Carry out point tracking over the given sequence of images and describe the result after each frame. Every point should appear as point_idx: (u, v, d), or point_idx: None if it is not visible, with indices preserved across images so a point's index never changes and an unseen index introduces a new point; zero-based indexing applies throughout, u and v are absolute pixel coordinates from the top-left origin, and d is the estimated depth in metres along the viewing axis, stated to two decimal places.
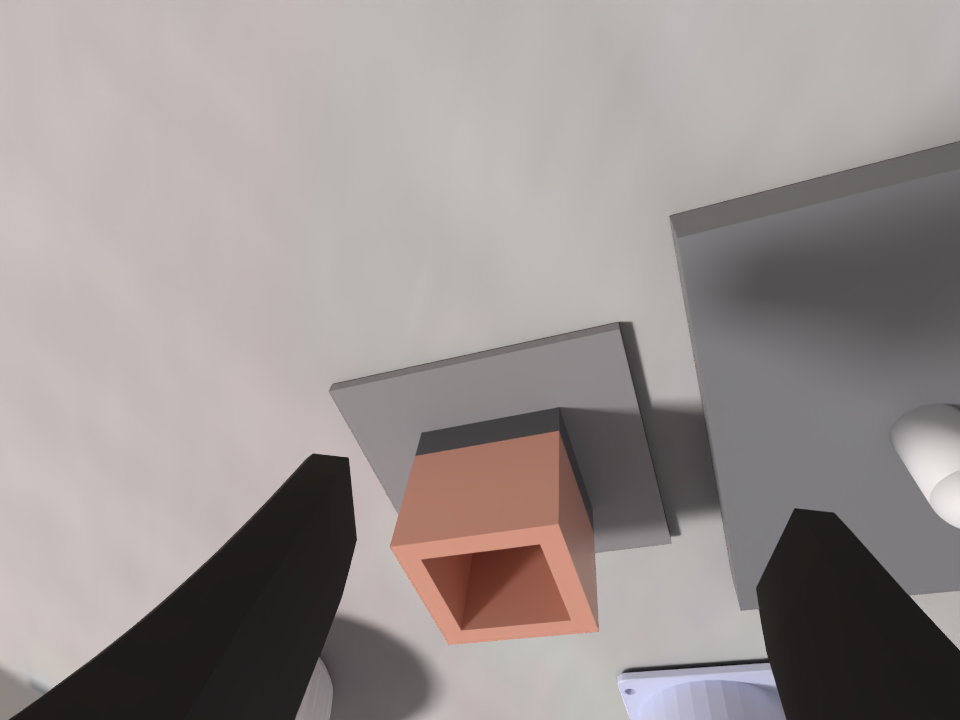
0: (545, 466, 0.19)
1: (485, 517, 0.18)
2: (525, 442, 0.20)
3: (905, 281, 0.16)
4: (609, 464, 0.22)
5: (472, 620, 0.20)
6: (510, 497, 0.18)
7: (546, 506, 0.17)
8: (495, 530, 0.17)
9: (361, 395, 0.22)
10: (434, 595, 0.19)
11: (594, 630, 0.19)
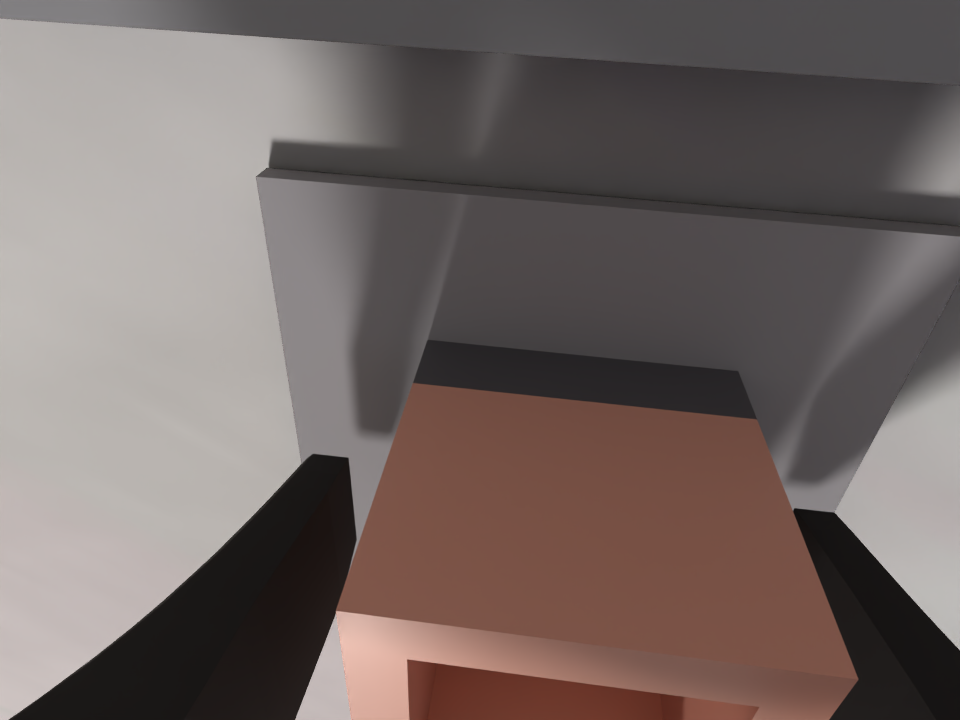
0: None
1: None
2: None
3: None
4: (616, 299, 0.09)
5: None
6: None
7: None
8: (350, 695, 0.07)
9: None
10: None
11: (846, 686, 0.06)
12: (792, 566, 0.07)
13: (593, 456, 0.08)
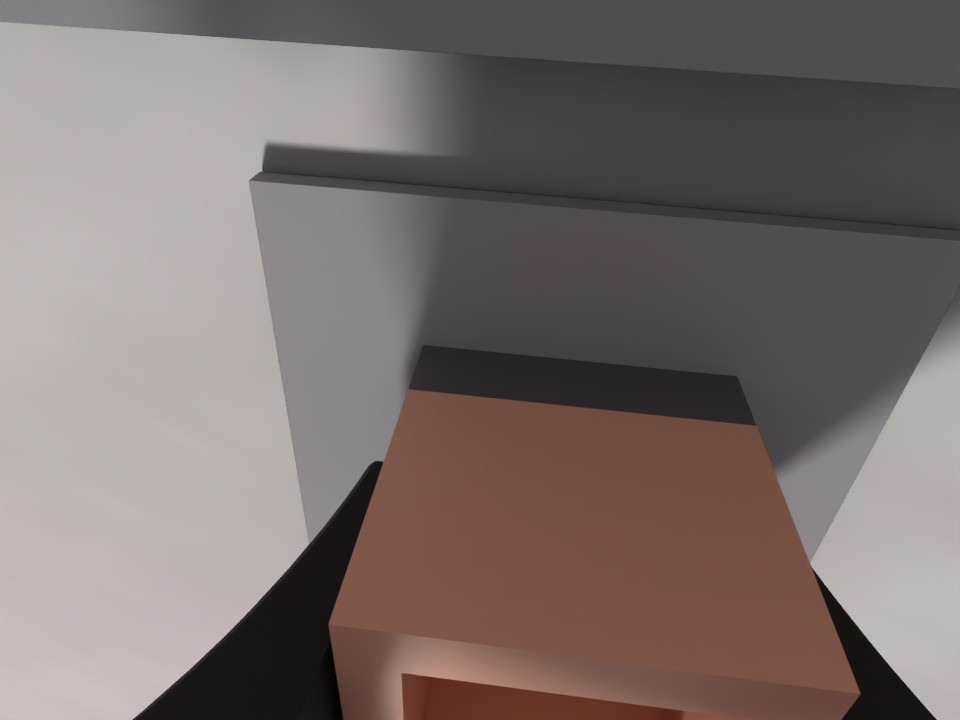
0: None
1: None
2: None
3: None
4: (614, 305, 0.09)
5: None
6: None
7: None
8: (345, 708, 0.07)
9: None
10: None
11: (848, 700, 0.06)
12: (792, 576, 0.07)
13: (591, 464, 0.08)
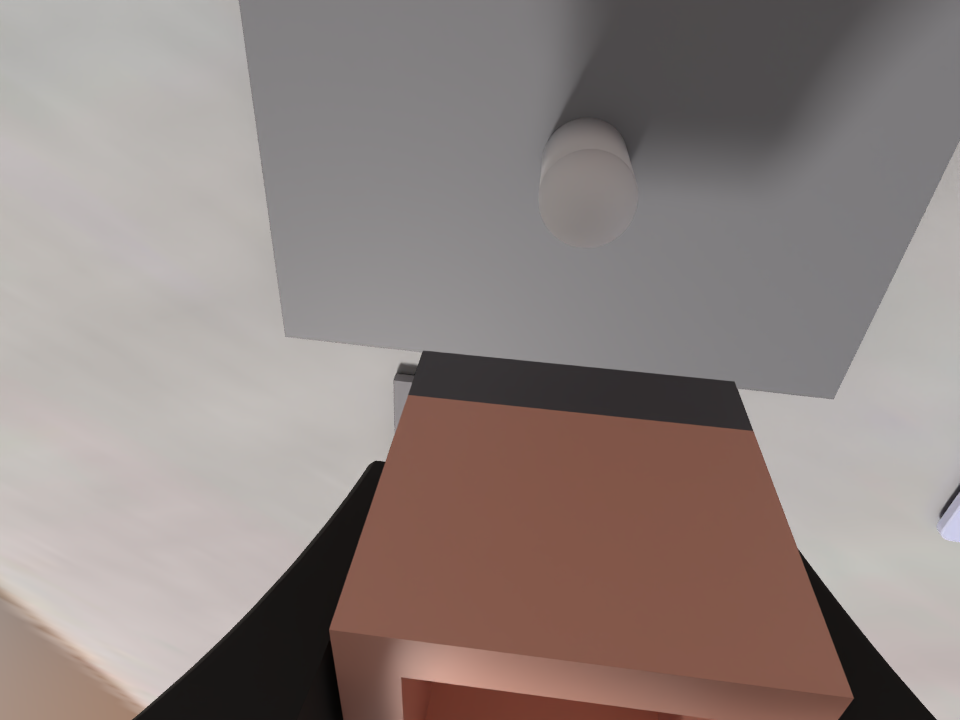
0: None
1: None
2: None
3: (366, 170, 0.16)
4: None
5: None
6: None
7: None
8: (345, 711, 0.07)
9: None
10: None
11: (841, 704, 0.06)
12: (788, 582, 0.07)
13: (589, 469, 0.08)
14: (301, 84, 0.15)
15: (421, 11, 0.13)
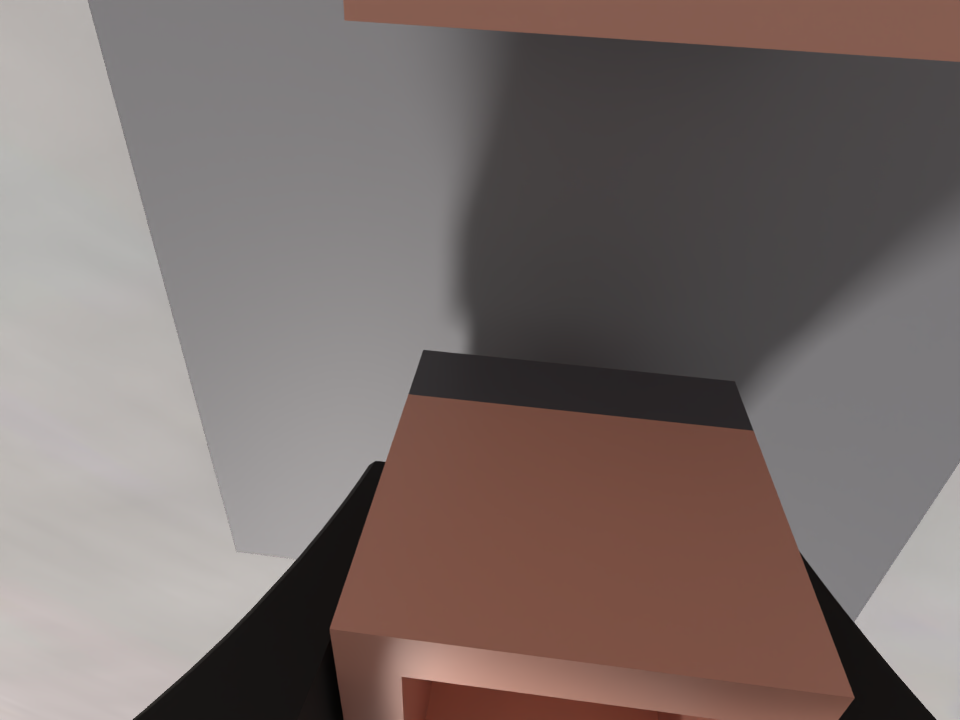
0: None
1: None
2: None
3: (314, 410, 0.14)
4: None
5: None
6: None
7: None
8: (344, 711, 0.07)
9: None
10: None
11: (842, 703, 0.06)
12: (788, 581, 0.07)
13: (589, 469, 0.08)
14: (234, 331, 0.13)
15: (365, 267, 0.12)
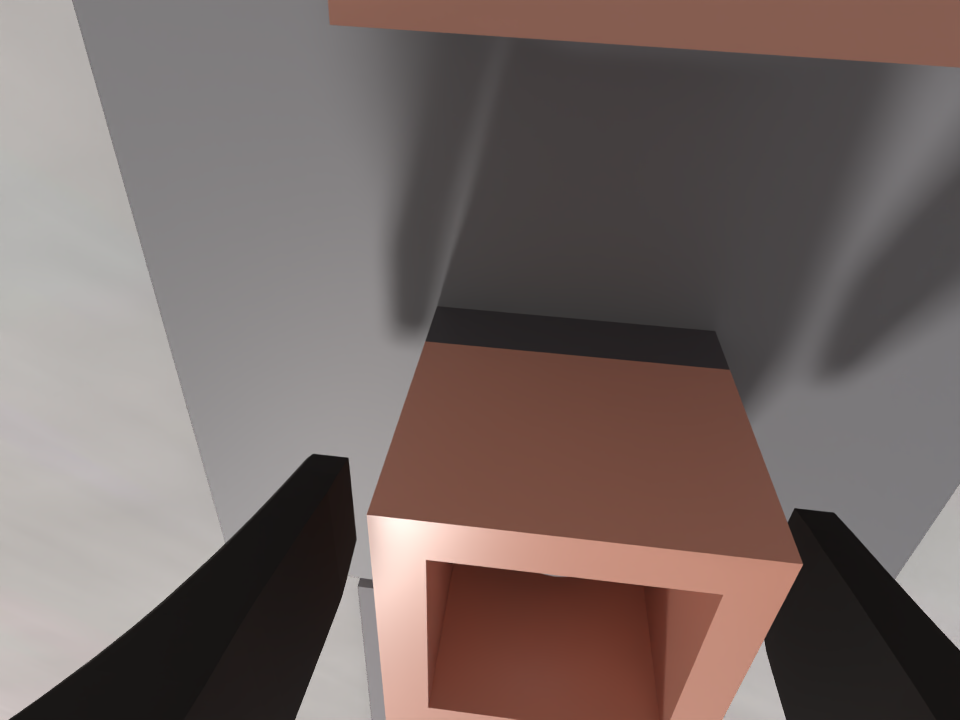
0: None
1: None
2: None
3: (308, 419, 0.13)
4: None
5: (663, 705, 0.10)
6: None
7: None
8: (376, 600, 0.08)
9: None
10: None
11: (793, 571, 0.07)
12: (753, 482, 0.08)
13: (584, 399, 0.09)
14: (226, 339, 0.12)
15: (359, 275, 0.11)
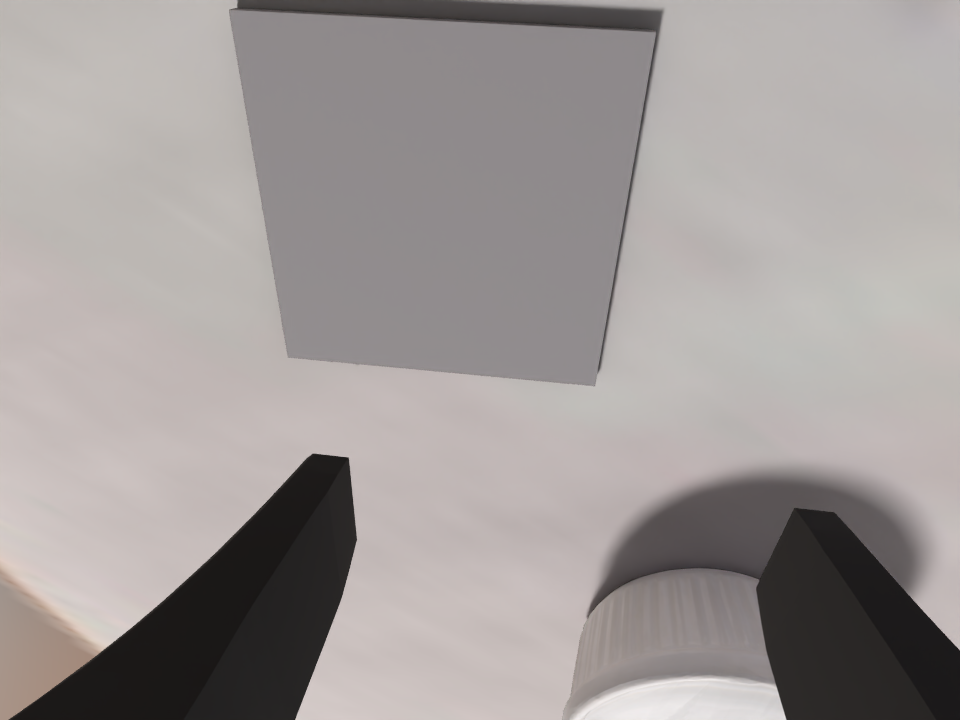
0: None
1: None
2: None
3: None
4: (453, 88, 0.15)
5: None
6: None
7: None
8: None
9: (296, 331, 0.20)
10: None
11: None
12: None
13: None
14: None
15: None
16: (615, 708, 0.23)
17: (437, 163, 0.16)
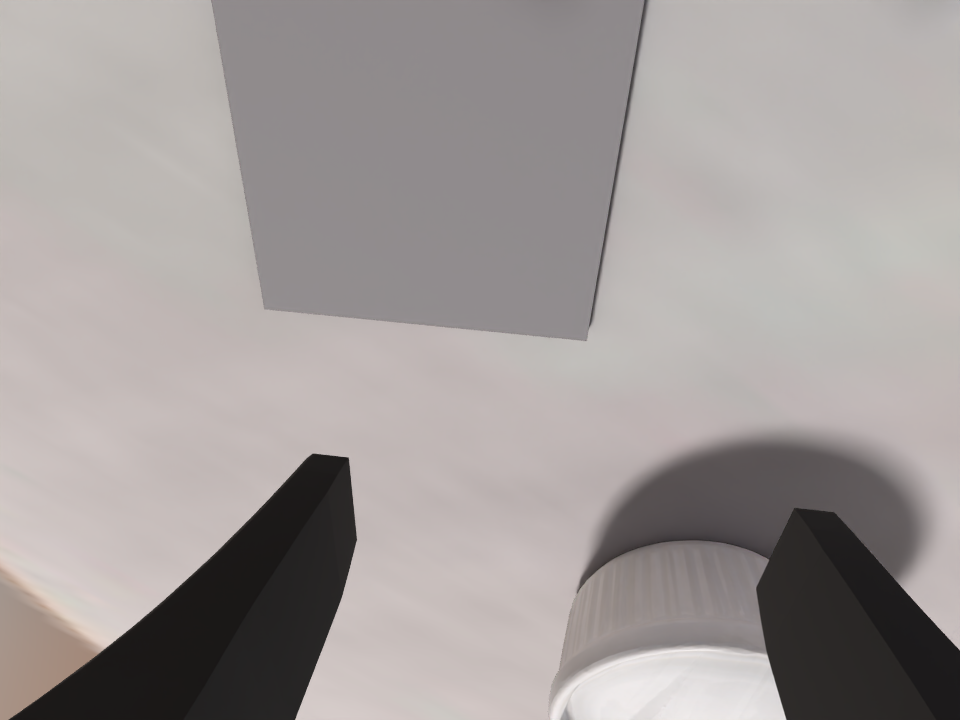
0: None
1: None
2: None
3: None
4: (437, 6, 0.14)
5: None
6: None
7: None
8: None
9: (273, 280, 0.19)
10: None
11: None
12: None
13: None
14: None
15: None
16: (604, 682, 0.22)
17: (421, 92, 0.15)
